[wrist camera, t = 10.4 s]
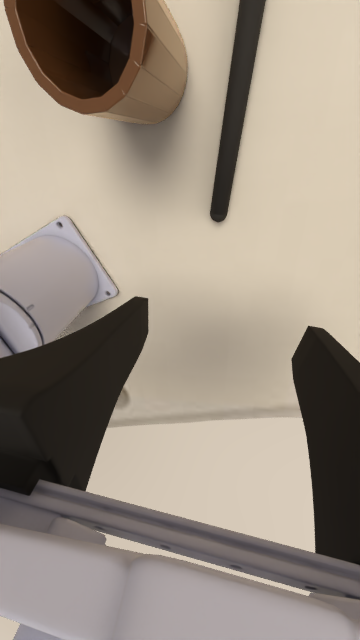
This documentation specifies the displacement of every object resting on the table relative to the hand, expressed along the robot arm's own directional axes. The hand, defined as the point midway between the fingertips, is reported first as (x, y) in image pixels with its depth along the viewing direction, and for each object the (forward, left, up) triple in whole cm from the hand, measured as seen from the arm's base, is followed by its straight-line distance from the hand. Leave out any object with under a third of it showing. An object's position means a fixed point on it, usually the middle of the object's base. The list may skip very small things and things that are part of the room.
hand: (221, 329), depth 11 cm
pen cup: (-1, +12, -10) cm, 16 cm away
